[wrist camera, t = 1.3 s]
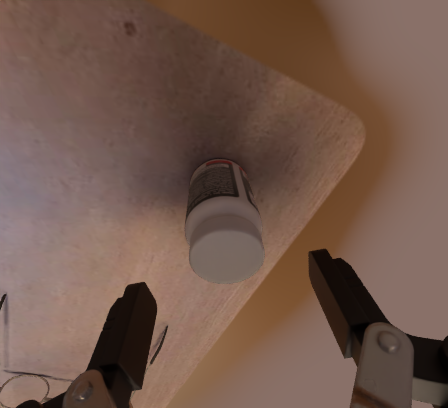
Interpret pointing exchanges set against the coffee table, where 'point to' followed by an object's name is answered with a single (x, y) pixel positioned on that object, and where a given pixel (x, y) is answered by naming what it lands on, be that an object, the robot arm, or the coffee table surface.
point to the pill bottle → (223, 224)
